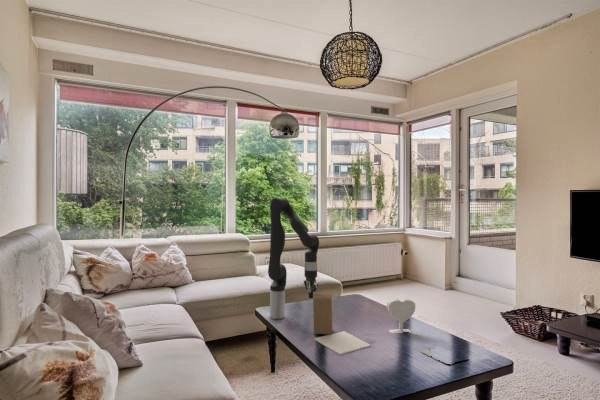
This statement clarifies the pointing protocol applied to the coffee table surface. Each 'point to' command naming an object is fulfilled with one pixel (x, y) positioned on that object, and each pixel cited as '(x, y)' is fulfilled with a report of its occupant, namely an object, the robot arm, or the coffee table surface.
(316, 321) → the block
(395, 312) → the heart sculpture
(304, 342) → the coffee table surface
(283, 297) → the robot arm
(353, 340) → the mat
